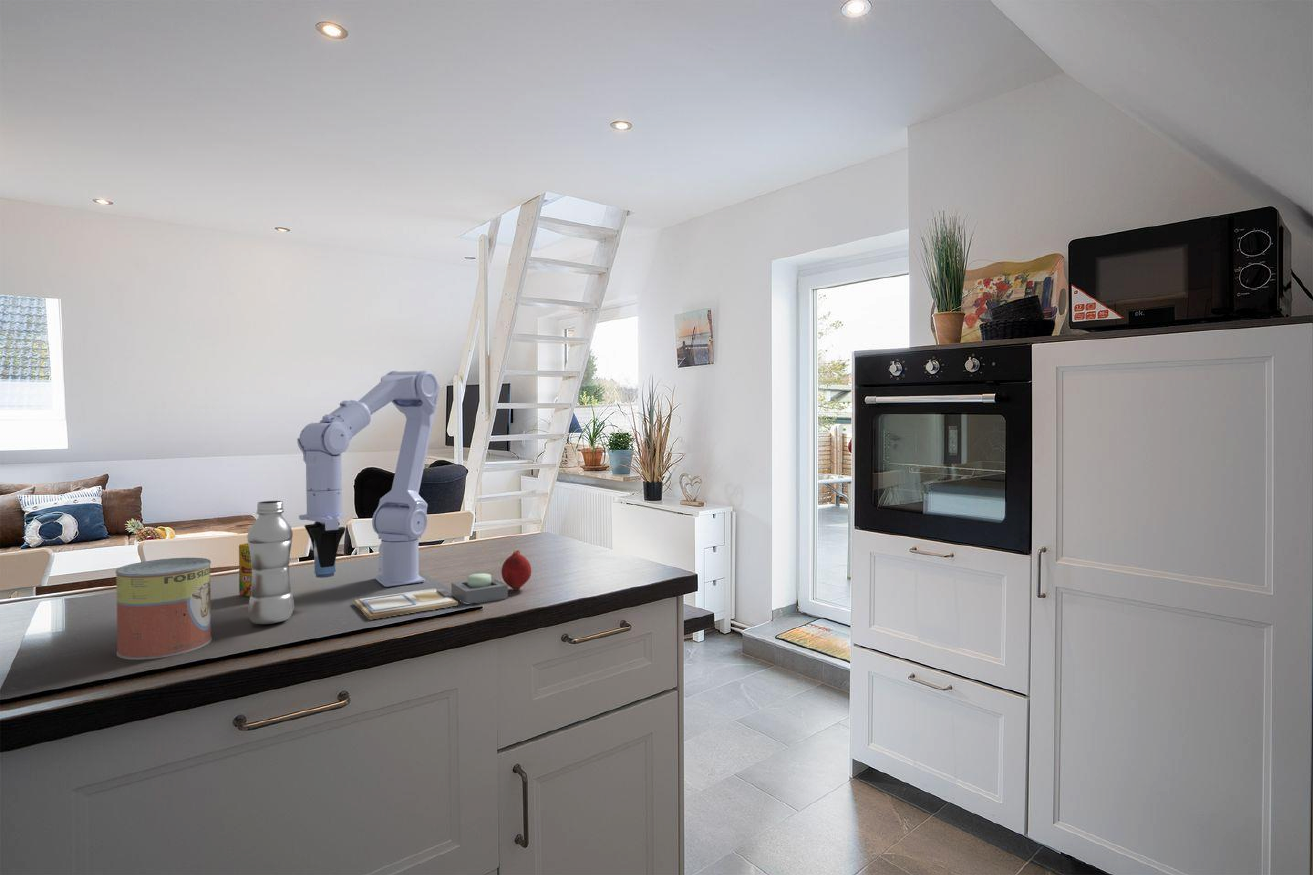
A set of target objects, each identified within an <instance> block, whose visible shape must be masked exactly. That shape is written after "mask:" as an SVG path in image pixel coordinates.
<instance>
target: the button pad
mask: <svg viewBox="0 0 1313 875" xmlns="http://www.w3.org/2000/svg"><path fill="white" fill-rule="evenodd" d="M450 587H451V588H450V589H451V590H450V591H451V593H450V594H452V598H454V599H456V598H457V599H456V600H457V601H459V600H461V601H463V602H465V603H476V604H481V603H482V604H483V603H488V602H489V603H490V602H493V601H500V600H507V599H508V596H509V595H508V594H509V592H508V591H509V590H508V588H509V586H508V585H507V584H506V583H505V582H502V581H501V580H498V579H496V578H494V577H492V576H491V586H486V587H479V588H473V589H471V588H469V587H467V579H466V580H460V581H454V582H453V581H452V582H451V586H450ZM461 601H460V602H461Z"/></svg>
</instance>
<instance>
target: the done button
mask: <svg viewBox="0 0 1313 875" xmlns="http://www.w3.org/2000/svg"><path fill="white" fill-rule="evenodd" d="M491 577H492V574H490V573H484V572H483V573H472V574H469V575H467V577H466V578H467V579H466V580H467V587H469V588H471V589H473V588H479V587H486V586H491Z"/></svg>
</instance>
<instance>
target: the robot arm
mask: <svg viewBox="0 0 1313 875" xmlns="http://www.w3.org/2000/svg"><path fill="white" fill-rule="evenodd" d="M440 388H441V386H440V384H439V382H438V380H437V378H436V375H435V374H434V373H433V372H432V371H431V370H427V369H426V370H425V369H424V370H421V371H420V370H413V371H409V370H408V371H397V370H391V371H389V372H387V373H386V374H385V375H382V376H381V378H380V382H379V383H378V384H376V385H375V386H374V387H373V388H371V390H369V391H368V392H367V393H366V394H365V395H364V396H362V397H361V398H359V400H352V399H350V400H342V401H341V402H340V403H339V406H338V407H337V408H336V409H335V410H333V411H332V412H330V413H329V414H325V415H323V416H322V419H321V420H319V422H311V423H308V424H306V425H305V427H303V429H302V430H301V432H300V433H299V437H297V439H296V440H297V446H298V448H299V450H301V452H302V455H303V456H302V457H303V458H302V459H303V461H304V464H305V479H306V480H305V484H306V485H305V486H306V487H305V488H306V489H305V491H306V492H305V494H306V514H300V515H298V519H299V520H301V521H311V522H314V523H310V524H304V528H305V530H306V531H307V534H308V536H309V538H310V542H311V544H312V550H313V551H314V541H315V544H316V548H317V554H318V559H319V564H320V566H321V568H323V567H332V566H334V564H335V565H336V559H337V554H338V549H339V546H340V542H341V540H342V537H343V536H344V534H345V532H346V529H347V528H346V527H345V526H340V520H342V519H343V518H344V511H343V484H342V483H343V482H342V479H343V478H342V476H343V475H342V474H343V473H342V470H343V469H342V453H345V452H346V451H347V450H348V447H349V445H350V441H351V440H352V439H353V438H354V436H356V435H357V434H358V433H360V432H361V431H363V429H365V428H366V427H367V426H369V425H370V423H371V422H372V421H371V420H372V418H371V417H372V415H374V413H377V411H379V410H381V409H382V408H383V407H385V406H387V405H388V404H389V403H391V404H393V405H394V406H395V408H396V409H397V410H398V411H399V412H400V413H402V414H403V415H404V417H405V418H406V419H405V420H406V421H405V425H404V429H403V430H404V431H403V435H402V439H401V444H400V449H399V454H398V457H397V463H396V467H395V472H394V477H393V481H392V486H391V489H390V490H389V491H388V492H387V493H385V494H384V495H383V496H382V497H380V498H379V502H378V505H377V508H376V510H375V511H374V512H373V515H372V517H371V518H372V520H371V521H372V522H371V525H372V528H373V531H374V533H376V535H377V537H378V539H379V540H381V542H380V544H379V547H378V574H377V575H374V576H373V579H375V581H377V582H378V583H379V584H381V585H382V586H383V587H385V588H387V587H394V586H396V587H397V586H402V585H411V584H417V583H422V582H423V583H424V582H426V579H425V578H423V577H422V576H421V575H420V574H419V570H420V569H419V539H421V538H422V536H423V534H424V533H425V531H426V529H427V525H428V512H427V511H428V507H429V505H428V503H427V502H426V500H424V498H423V497H421V495H420V494H419V493H420V488H421V484H422V479H423V478H422V477H423V474H424V468H425V465H426V459H427V458H426V457H427V454H428V449H429V444H430V439H431V434H432V429H433V425H434V424H433V423H434V419H435V412H436V408H437V404H438V398H439V394H440ZM339 526H340V527H339Z"/></svg>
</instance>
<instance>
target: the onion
mask: <svg viewBox="0 0 1313 875" xmlns="http://www.w3.org/2000/svg"><path fill="white" fill-rule="evenodd" d="M500 572H501V578H502V580H503V581H504V582H503V583H504V584H506V585H508V587H510V588H511V589H513V590H515V591H517V590H520V588H522V587H523V586H524V585H525V584H527V582H528V581H529V580H530V578H531V576H532V565H531V564H530V561H529V560H528V559H527V557H525V556H524V555H522V554H521V550H520V549H515V550H514V551H513V553H512V554H511V555H510V556H509V557H508V558H506V559H505V561H504V562H503V564H502V566H501V571H500Z"/></svg>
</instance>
